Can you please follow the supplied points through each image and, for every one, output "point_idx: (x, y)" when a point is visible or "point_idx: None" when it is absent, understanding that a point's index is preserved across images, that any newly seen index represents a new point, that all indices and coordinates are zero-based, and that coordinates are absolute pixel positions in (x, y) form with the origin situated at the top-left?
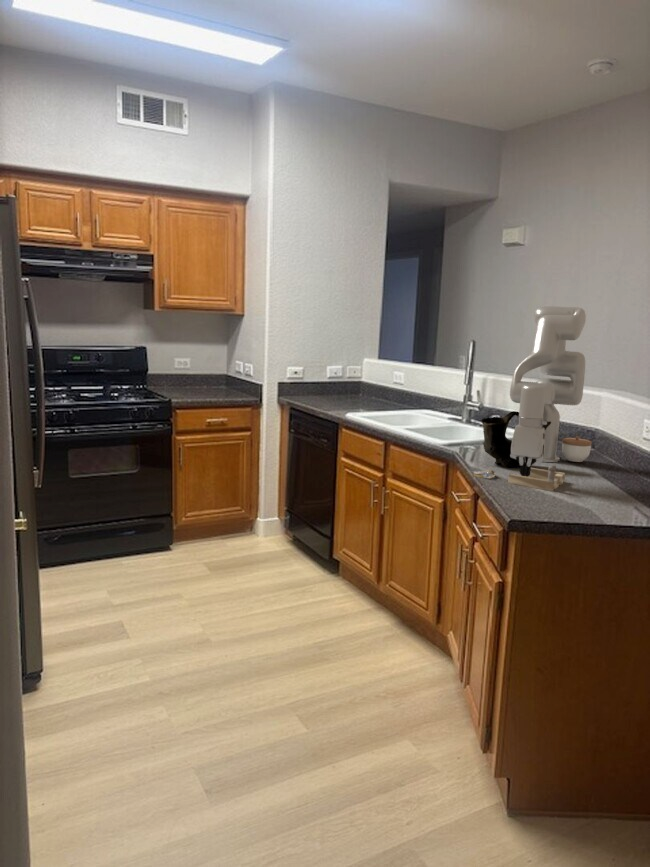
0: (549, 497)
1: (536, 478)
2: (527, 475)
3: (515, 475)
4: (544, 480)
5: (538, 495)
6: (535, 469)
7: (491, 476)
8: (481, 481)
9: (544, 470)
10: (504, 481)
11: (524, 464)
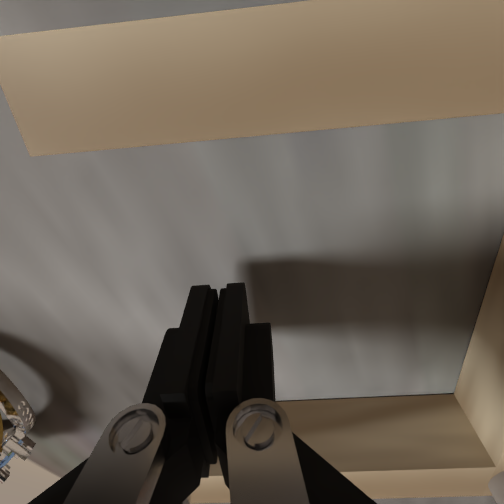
0: (474, 497)
1: (391, 477)
2: (247, 322)
3: (217, 490)
4: (463, 485)
5: (414, 499)
6: (263, 120)
7: (29, 426)
8: (51, 467)
9: (423, 61)
10: (133, 398)
11: (199, 474)
